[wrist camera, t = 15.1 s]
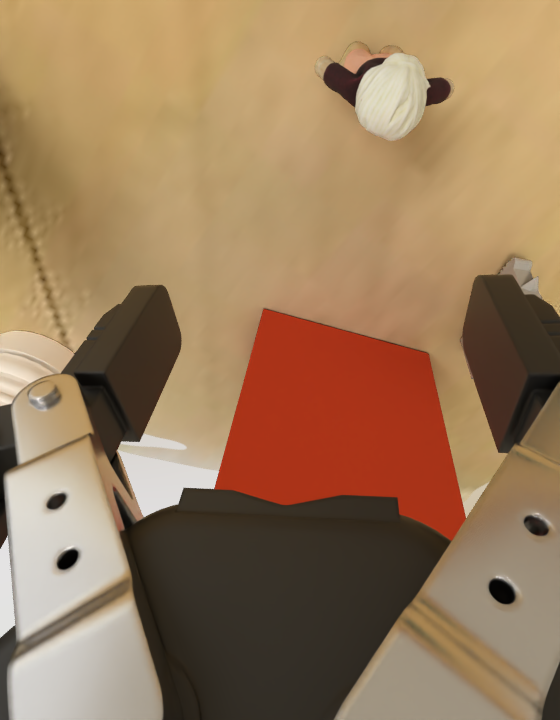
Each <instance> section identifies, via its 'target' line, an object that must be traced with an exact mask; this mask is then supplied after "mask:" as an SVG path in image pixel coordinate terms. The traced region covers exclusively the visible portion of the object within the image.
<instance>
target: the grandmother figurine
mask: <svg viewBox="0 0 560 720" xmlns="http://www.w3.org/2000/svg"><path fill="white" fill-rule="evenodd" d="M315 71H316V74H317V75H318V76H319V77H320V78H321V79H322V80H323V81H324V82H325V84H326V85H327V86H328V87H329V88H330V89H332V90H333V91H335V92H337V93H339V94H340V95H341V96H342V97H343V98H344V99H345V100H347V101H348V102H349V103H350V104H352V106H354V107H355V112H356V114H357V116H358V120H359V123H360V124H361V126H362V127H364V128H365V129H366V130H367V131H368V132H370V133H372V134H374V135H375V136H379V137H381V138H384V139H386V140H389V141H393V140H399V139H401V138H403V137H404V136H406V135H407V134H408V133H410V132H411V130H413V129H414V128H415V127H416V126H417V125H418V123H419V122H420V120H421V118H422V116H423V113H424V110H425V106H428V105H431V104H438V103H441V102H443V101H444V100H446V99H448V98H449V97H450V96H451V95H452V94H453V91H454V84H453V82H452V81H451V80H450V79H444V78H431V79H426V77H425V72H424V68H423V66H422V64H421V63H420V62H419V60H418V58H417V57H415V56H413V55H407V54H404V53H403V51H402V50H401V48H399V47H397V46H387V47H385V48H383V49H382V50H381V52H380V54H372V55H371V54H370V51H369V48H368V47H367V46H366V45H365V44H363V43H361V42H354V43H352V44H350V46H349V47H348V48H347V50H346V52H345V53H344V55H343V57H342V59H341V61H340V62H339V64H338V63H335V62H334V61H332V60H331V59H330V58H329V57H327V56H322V57H320V58H319V59H318V60H317V62H316V64H315Z"/></svg>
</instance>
